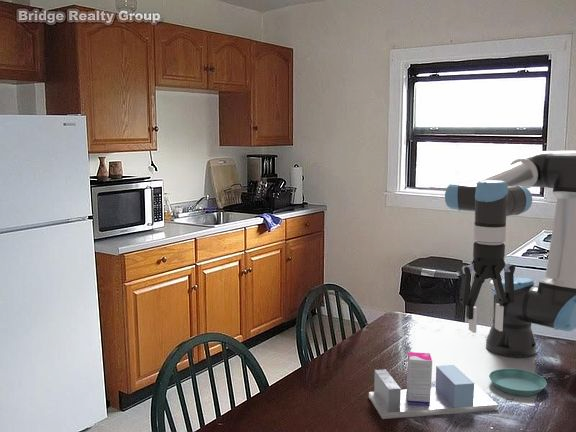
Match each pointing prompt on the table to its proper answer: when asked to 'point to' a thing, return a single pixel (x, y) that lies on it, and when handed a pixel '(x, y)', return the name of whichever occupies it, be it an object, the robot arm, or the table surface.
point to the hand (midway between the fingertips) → (485, 330)
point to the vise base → (395, 403)
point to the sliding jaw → (455, 386)
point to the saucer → (517, 381)
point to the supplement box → (419, 378)
